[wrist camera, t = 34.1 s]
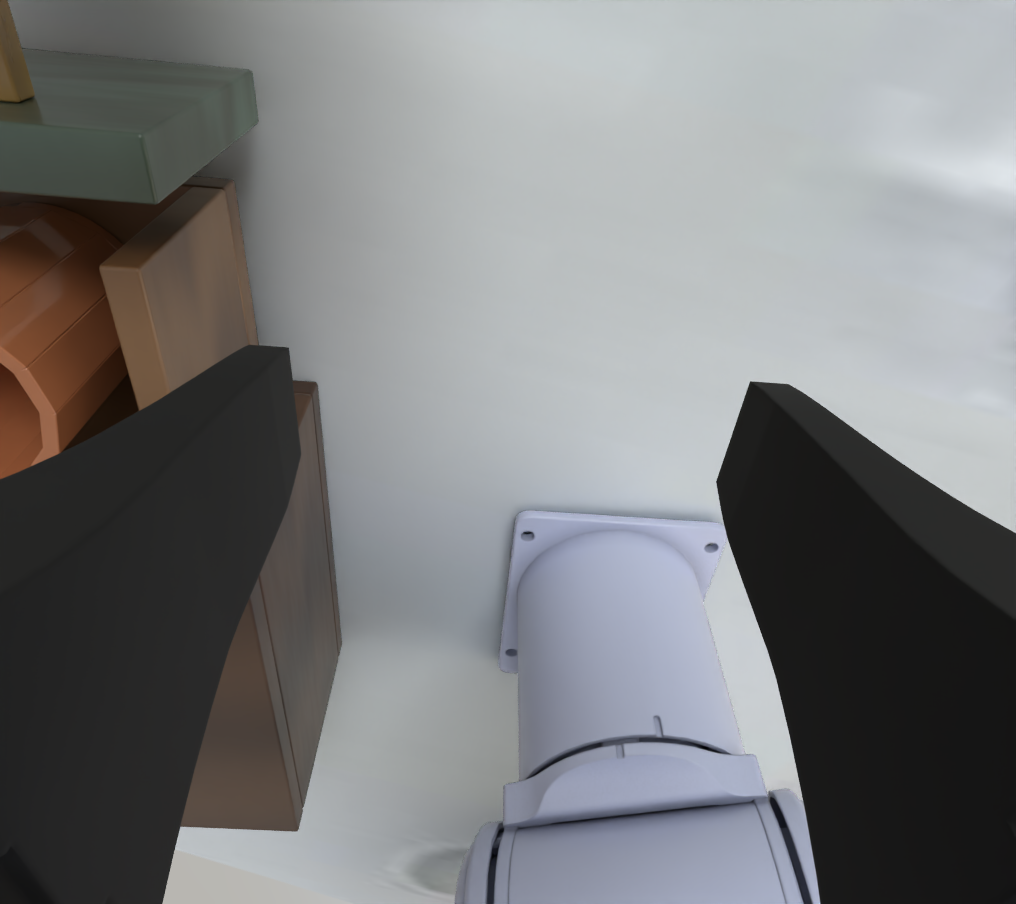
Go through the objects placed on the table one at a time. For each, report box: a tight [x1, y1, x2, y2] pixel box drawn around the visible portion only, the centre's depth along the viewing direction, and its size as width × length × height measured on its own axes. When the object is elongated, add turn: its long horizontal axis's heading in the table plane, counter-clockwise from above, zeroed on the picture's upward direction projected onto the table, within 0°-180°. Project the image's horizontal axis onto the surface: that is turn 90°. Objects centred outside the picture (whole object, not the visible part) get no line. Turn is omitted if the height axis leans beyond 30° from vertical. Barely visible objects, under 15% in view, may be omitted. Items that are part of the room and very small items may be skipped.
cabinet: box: [181, 381, 342, 831], centre depth 24 cm, size 14×12×8 cm
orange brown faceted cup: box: [0, 202, 129, 479], centre depth 17 cm, size 5×5×6 cm
